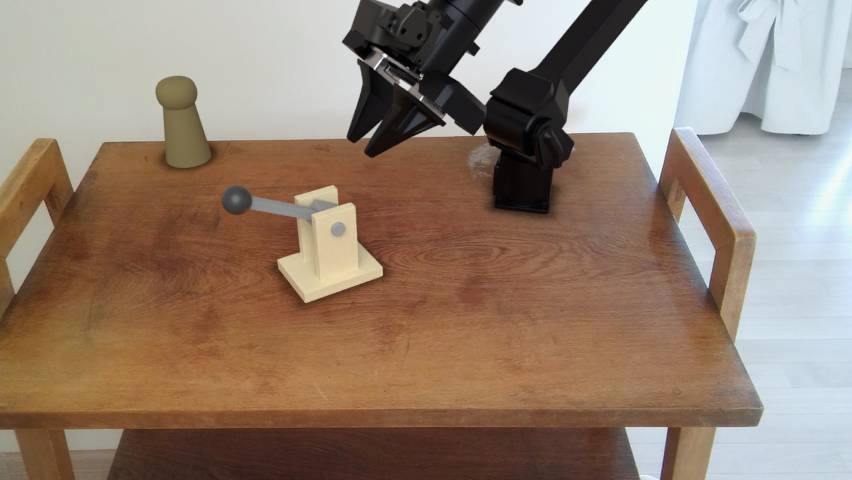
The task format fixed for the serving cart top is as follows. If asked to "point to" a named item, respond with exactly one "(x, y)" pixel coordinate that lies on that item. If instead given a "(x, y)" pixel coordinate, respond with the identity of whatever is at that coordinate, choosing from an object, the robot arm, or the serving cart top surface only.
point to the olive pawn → (182, 123)
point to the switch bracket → (328, 250)
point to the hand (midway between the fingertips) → (358, 148)
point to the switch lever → (268, 204)
